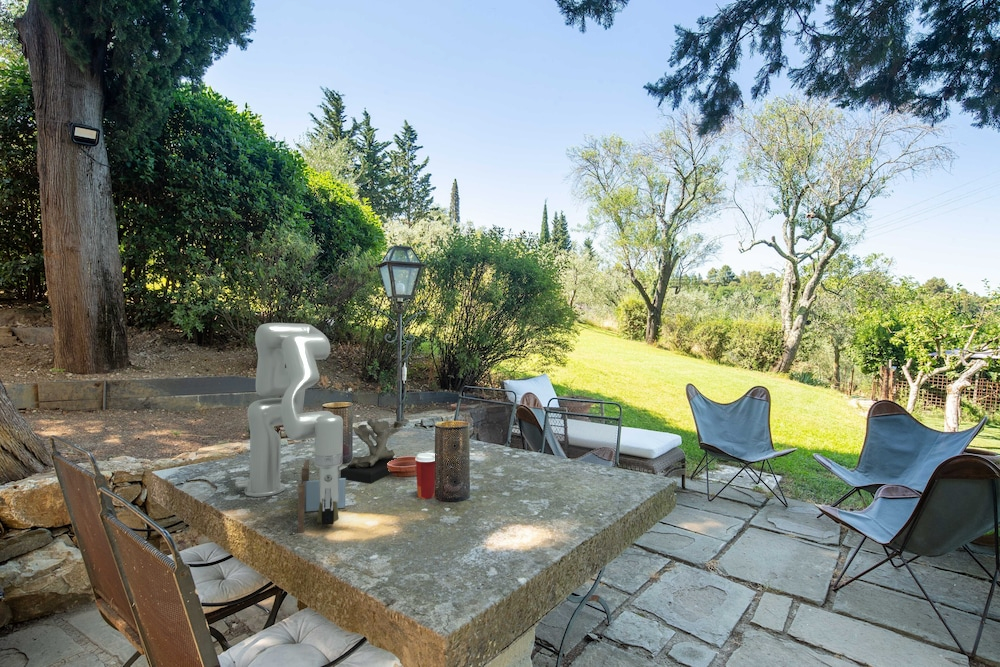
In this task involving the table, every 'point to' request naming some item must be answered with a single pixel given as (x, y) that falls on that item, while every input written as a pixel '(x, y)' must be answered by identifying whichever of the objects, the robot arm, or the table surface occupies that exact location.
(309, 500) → the door
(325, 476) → the robot arm
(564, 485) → the table surface
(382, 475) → the coral
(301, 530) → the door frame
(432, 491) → the paper cup
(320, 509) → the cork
